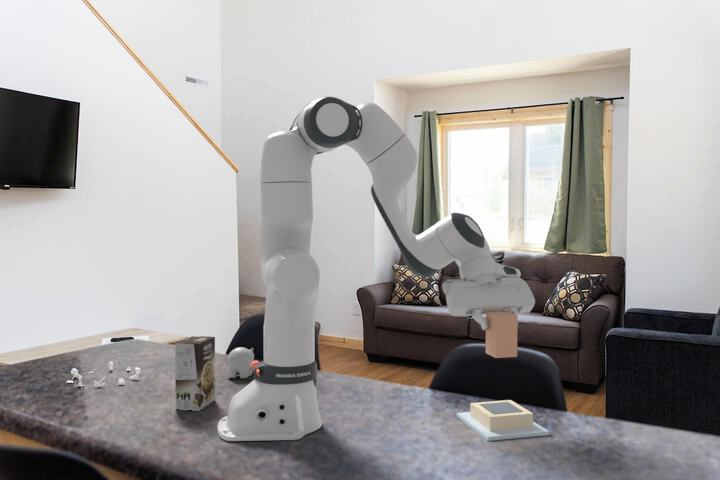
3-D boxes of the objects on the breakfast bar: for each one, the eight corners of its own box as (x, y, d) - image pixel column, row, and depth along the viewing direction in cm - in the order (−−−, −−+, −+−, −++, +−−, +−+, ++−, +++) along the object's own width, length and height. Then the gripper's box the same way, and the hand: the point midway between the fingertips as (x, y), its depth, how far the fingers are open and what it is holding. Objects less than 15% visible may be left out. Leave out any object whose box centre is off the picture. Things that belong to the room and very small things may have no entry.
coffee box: (199, 411, 145) (199, 343, 144) (174, 410, 146) (173, 342, 146) (216, 400, 154) (216, 336, 153) (192, 399, 155) (192, 335, 154)
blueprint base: (487, 440, 126) (487, 422, 126) (456, 416, 142) (456, 399, 142) (548, 435, 130) (549, 416, 130) (512, 411, 145) (512, 395, 145)
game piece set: (50, 385, 169) (50, 371, 168) (106, 369, 187) (106, 356, 187) (104, 393, 161) (104, 379, 161) (157, 375, 179) (157, 362, 179)
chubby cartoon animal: (263, 370, 183) (263, 342, 183) (246, 381, 172) (246, 350, 171) (241, 369, 185) (241, 341, 185) (223, 379, 173) (222, 349, 173)
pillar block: (495, 358, 132) (496, 316, 132) (485, 353, 137) (485, 312, 137) (517, 356, 133) (517, 315, 133) (506, 351, 138) (506, 311, 138)
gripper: (443, 271, 140) (460, 321, 131) (525, 269, 145) (547, 317, 136) (436, 288, 144) (452, 338, 135) (516, 286, 149) (536, 333, 140)
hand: (500, 327), depth 135 cm, fingers closed on pillar block, 5 cm apart
